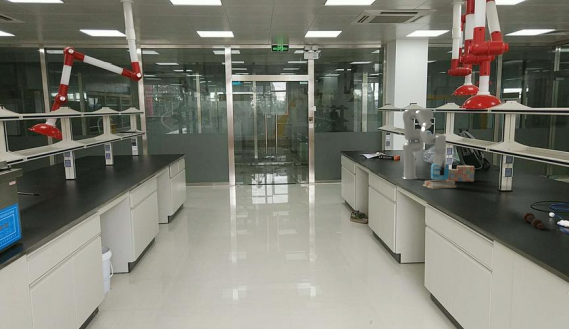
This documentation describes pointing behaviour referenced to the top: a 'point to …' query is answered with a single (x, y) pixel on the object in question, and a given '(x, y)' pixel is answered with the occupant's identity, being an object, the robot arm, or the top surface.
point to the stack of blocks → (462, 173)
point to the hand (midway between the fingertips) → (439, 174)
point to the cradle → (439, 184)
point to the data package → (436, 172)
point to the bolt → (533, 220)
